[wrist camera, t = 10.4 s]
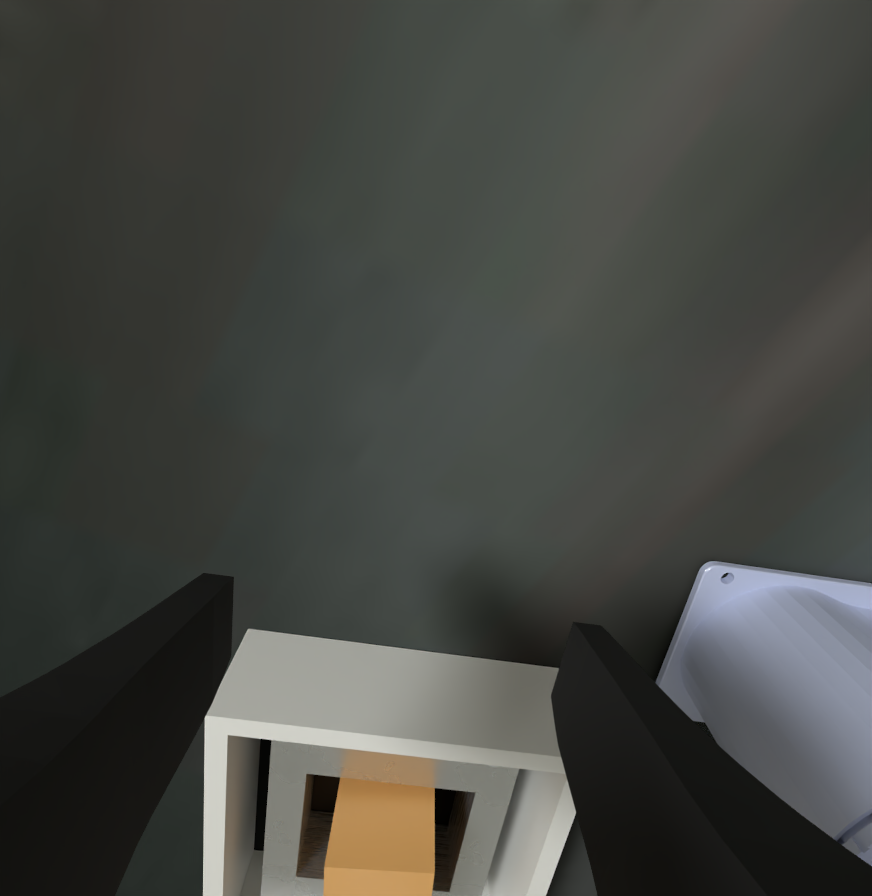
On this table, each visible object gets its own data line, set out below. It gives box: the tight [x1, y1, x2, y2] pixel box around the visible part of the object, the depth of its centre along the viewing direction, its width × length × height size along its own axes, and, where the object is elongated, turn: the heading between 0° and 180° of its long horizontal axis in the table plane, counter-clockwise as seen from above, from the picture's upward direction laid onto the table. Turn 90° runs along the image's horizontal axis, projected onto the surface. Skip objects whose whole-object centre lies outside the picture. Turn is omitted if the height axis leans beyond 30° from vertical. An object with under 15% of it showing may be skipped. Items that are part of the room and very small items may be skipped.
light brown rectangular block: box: [323, 777, 435, 896], centre depth 23 cm, size 4×5×6 cm
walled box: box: [203, 629, 576, 896], centre depth 23 cm, size 14×15×4 cm
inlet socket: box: [261, 740, 519, 896], centre depth 24 cm, size 10×10×3 cm
